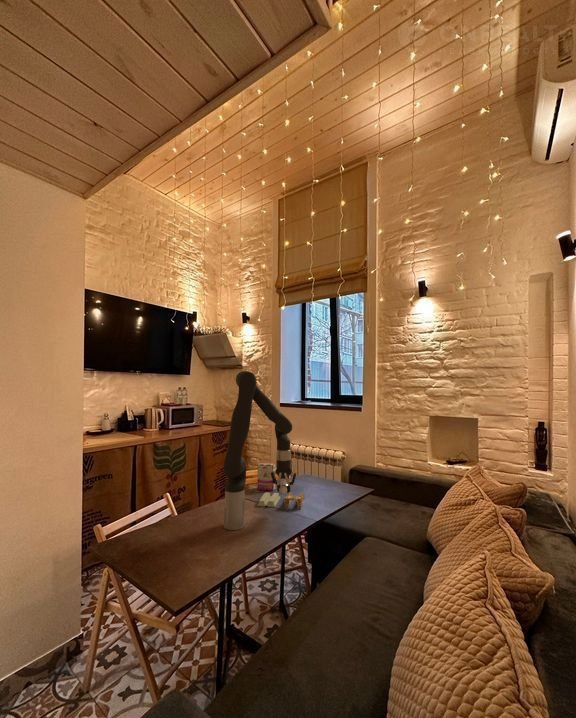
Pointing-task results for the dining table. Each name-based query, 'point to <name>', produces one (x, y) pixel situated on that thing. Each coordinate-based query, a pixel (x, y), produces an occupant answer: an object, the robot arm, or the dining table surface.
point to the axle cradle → (269, 500)
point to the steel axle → (283, 488)
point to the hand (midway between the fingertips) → (283, 492)
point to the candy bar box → (266, 476)
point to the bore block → (298, 498)
